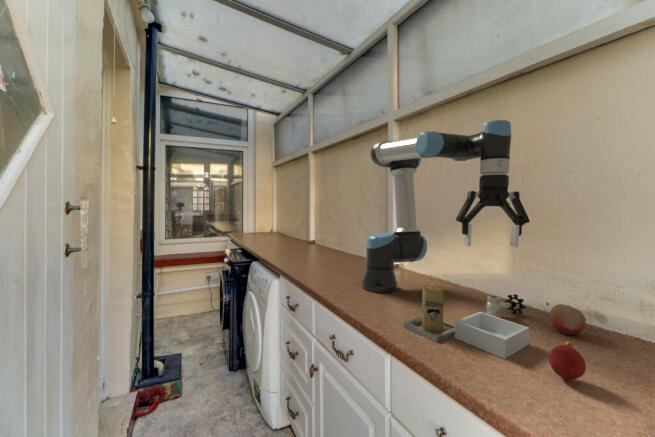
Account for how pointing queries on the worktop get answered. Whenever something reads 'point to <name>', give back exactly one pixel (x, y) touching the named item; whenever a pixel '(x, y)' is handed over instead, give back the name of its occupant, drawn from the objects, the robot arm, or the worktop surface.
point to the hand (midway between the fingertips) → (490, 246)
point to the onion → (567, 362)
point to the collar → (436, 338)
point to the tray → (492, 334)
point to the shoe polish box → (432, 309)
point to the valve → (503, 305)
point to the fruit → (567, 319)
